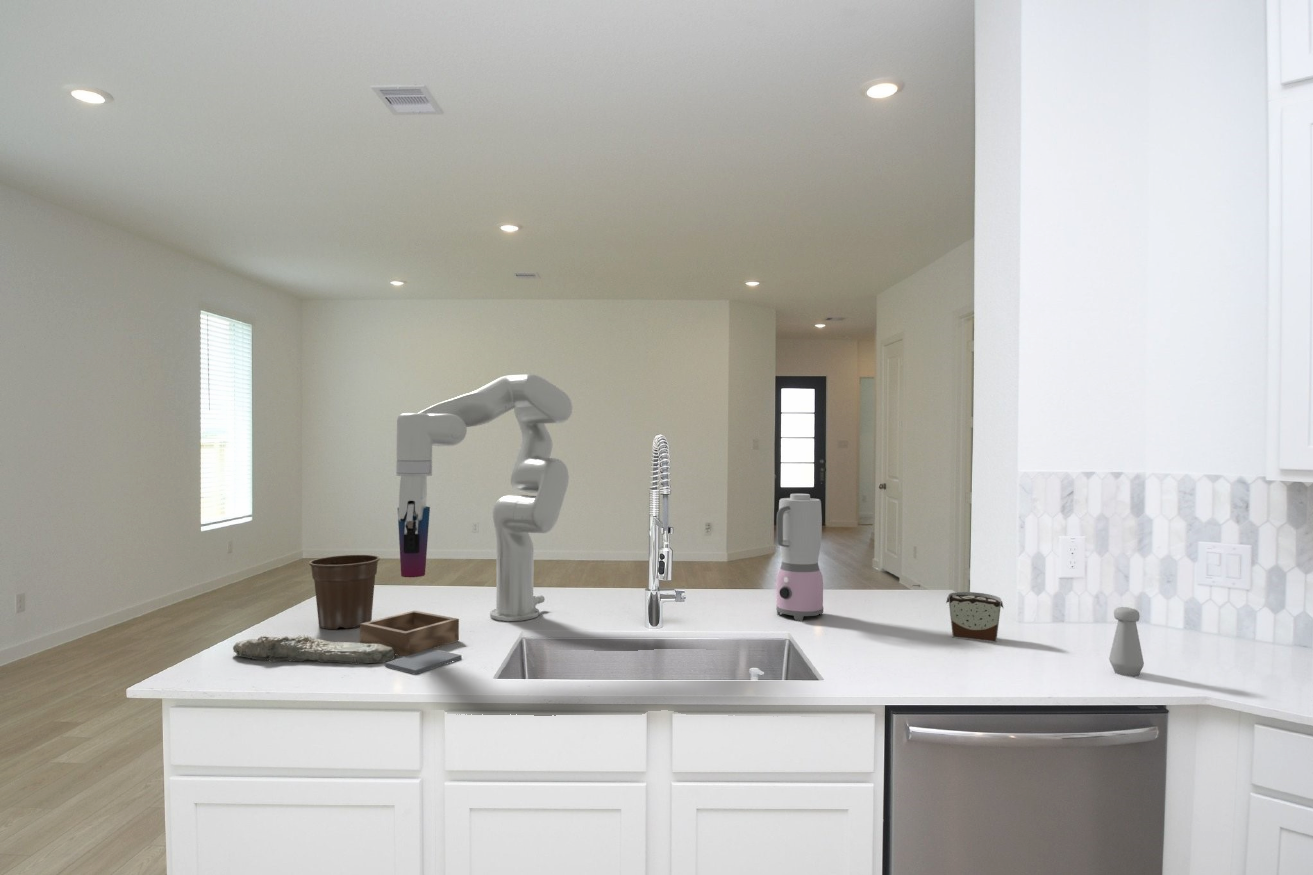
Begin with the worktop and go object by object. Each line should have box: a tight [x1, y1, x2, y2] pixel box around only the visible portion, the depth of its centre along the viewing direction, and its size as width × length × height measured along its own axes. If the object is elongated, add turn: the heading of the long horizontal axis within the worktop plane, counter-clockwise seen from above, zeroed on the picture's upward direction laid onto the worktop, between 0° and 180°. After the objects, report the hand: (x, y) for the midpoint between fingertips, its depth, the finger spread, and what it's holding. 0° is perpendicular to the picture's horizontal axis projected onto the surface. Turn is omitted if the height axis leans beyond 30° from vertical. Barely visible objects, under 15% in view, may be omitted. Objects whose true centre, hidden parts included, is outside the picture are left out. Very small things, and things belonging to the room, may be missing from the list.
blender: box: [775, 493, 824, 621], centre depth 192 cm, size 16×12×32 cm
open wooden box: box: [359, 610, 460, 657], centre depth 165 cm, size 15×15×5 cm
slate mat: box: [384, 648, 462, 675], centre depth 151 cm, size 12×9×1 cm
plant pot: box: [308, 554, 381, 630], centre depth 182 cm, size 16×16×16 cm
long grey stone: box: [232, 634, 395, 665], centre depth 154 cm, size 35×5×10 cm
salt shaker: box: [1108, 606, 1145, 678], centre depth 146 cm, size 6×6×13 cm
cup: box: [397, 505, 431, 578], centre depth 161 cm, size 7×7×15 cm
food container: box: [945, 591, 1005, 643], centre depth 173 cm, size 12×6×10 cm, turn 65°
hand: (413, 549), depth 161 cm, fingers closed on cup, 6 cm apart
